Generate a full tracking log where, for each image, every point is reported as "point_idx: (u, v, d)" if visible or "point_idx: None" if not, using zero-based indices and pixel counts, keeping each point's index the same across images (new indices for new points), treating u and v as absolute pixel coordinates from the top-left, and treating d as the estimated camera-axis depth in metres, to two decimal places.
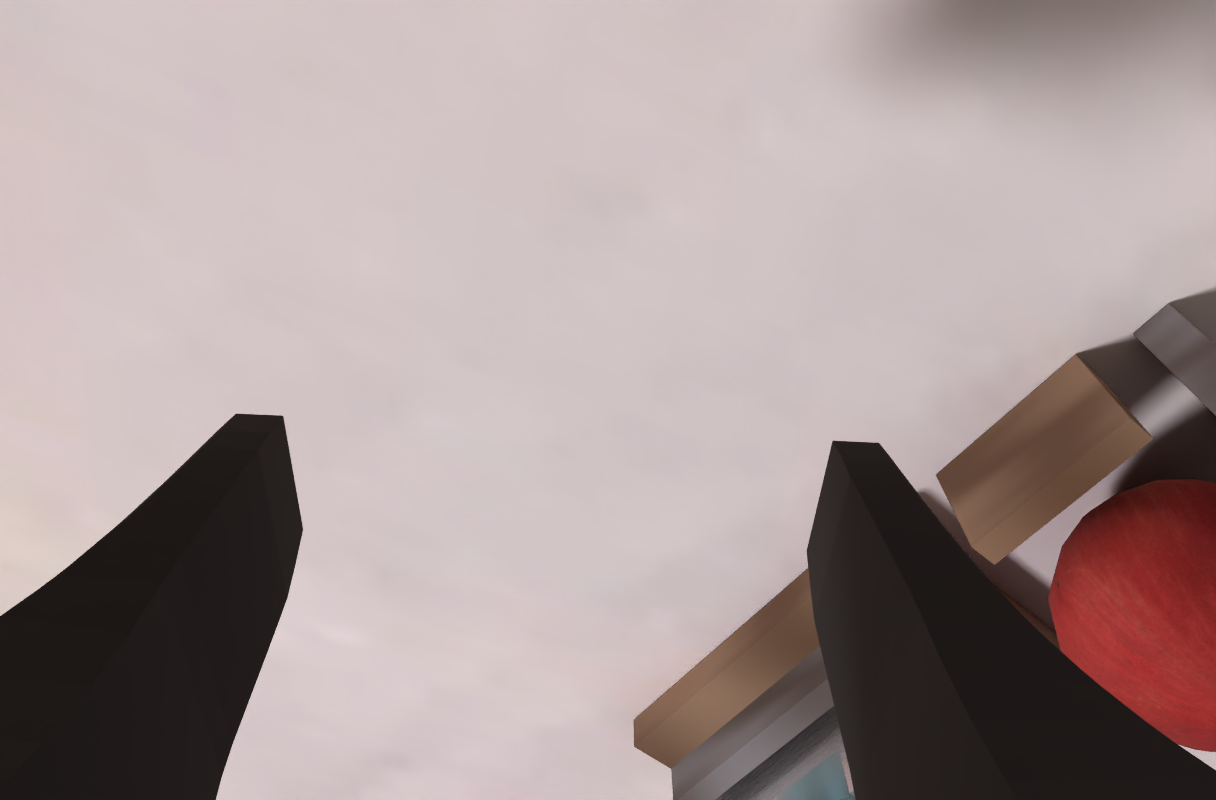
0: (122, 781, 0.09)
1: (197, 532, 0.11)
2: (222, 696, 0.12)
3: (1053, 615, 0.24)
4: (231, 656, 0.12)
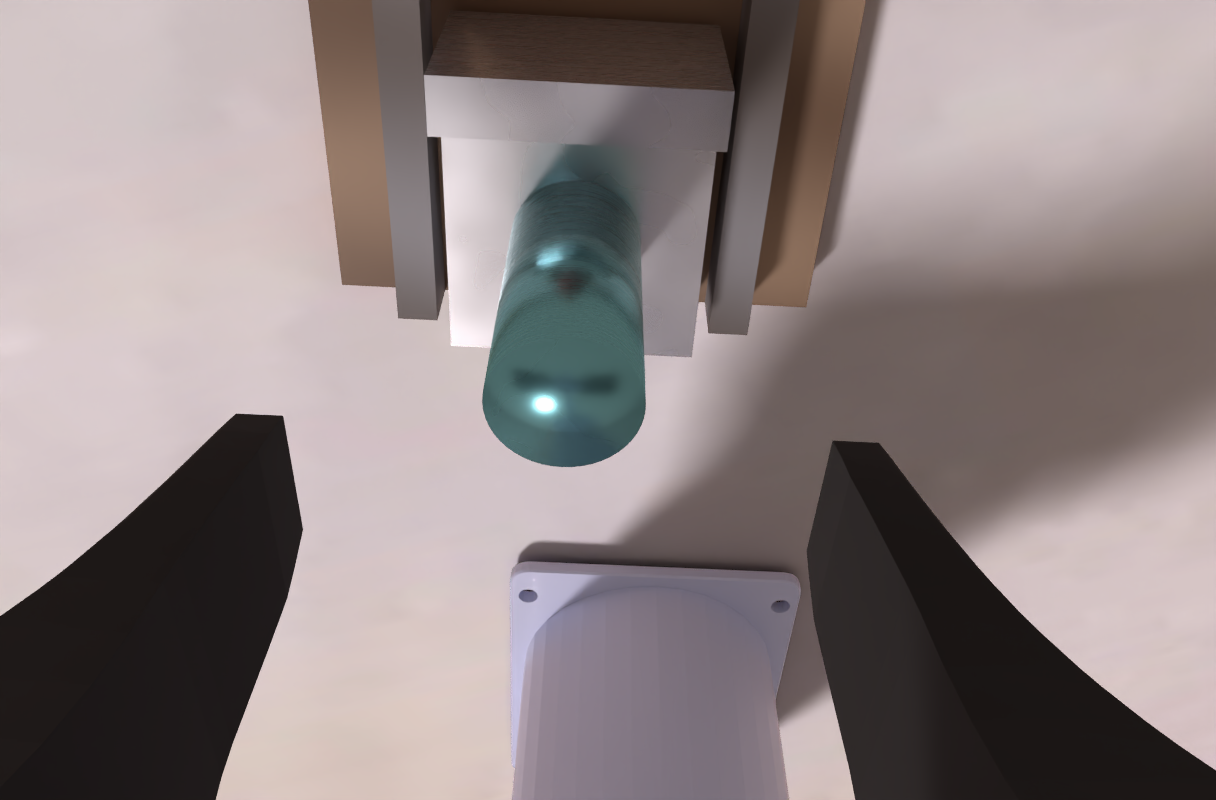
0: (122, 781, 0.09)
1: (197, 532, 0.11)
2: (222, 696, 0.12)
3: None
4: (231, 656, 0.12)
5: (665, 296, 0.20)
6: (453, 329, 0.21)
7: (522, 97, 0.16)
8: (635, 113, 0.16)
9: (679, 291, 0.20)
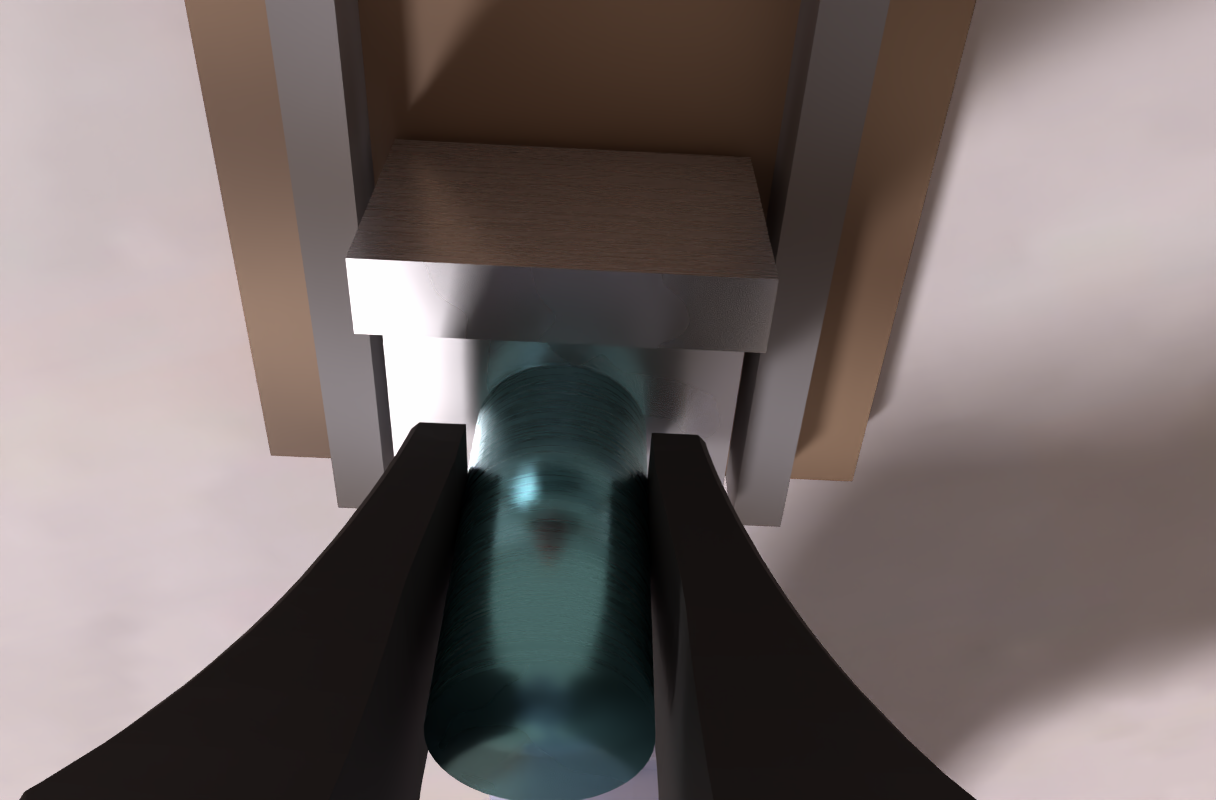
0: (380, 790, 0.09)
1: (420, 541, 0.11)
2: (425, 704, 0.12)
3: None
4: (431, 664, 0.12)
5: None
6: None
7: (483, 286, 0.12)
8: (639, 306, 0.12)
9: None
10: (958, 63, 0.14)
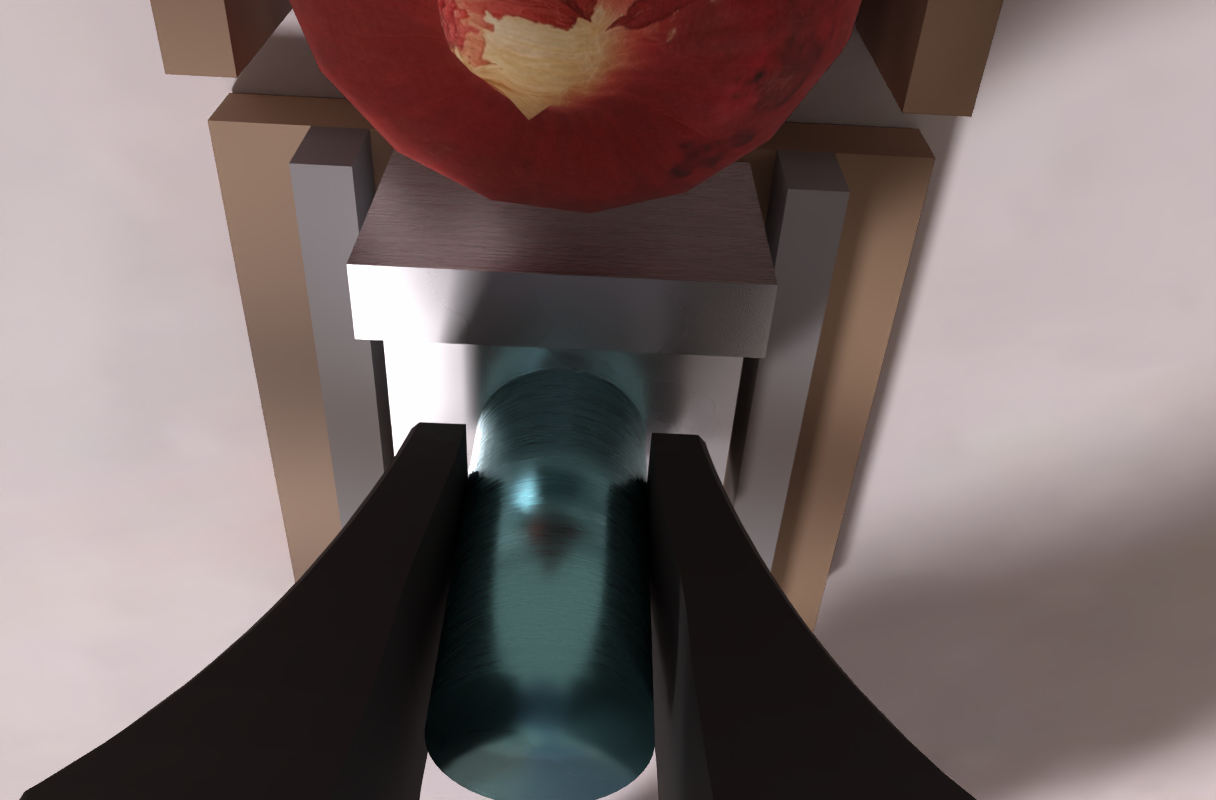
0: (380, 790, 0.09)
1: (420, 541, 0.11)
2: (425, 704, 0.12)
3: None
4: (431, 664, 0.12)
5: None
6: None
7: (483, 292, 0.12)
8: (639, 312, 0.12)
9: None
10: (892, 320, 0.16)
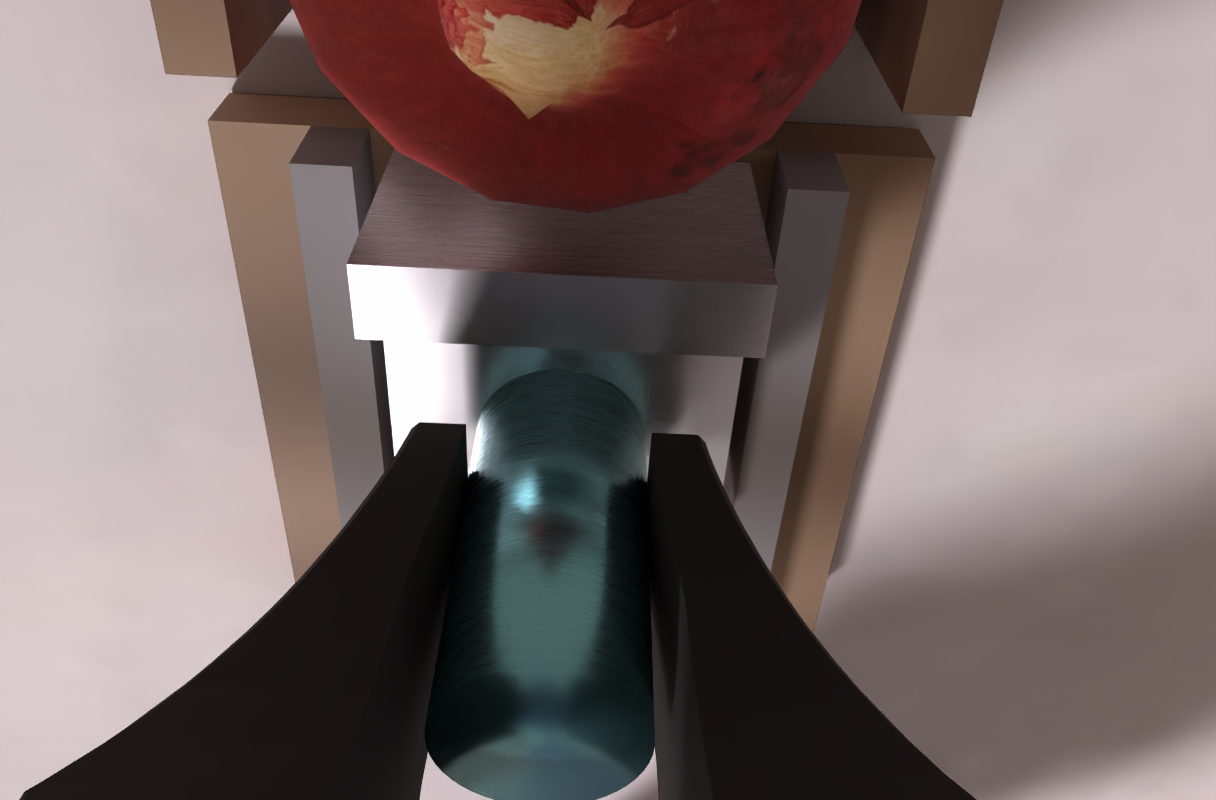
0: (379, 790, 0.09)
1: (420, 541, 0.11)
2: (425, 704, 0.12)
3: None
4: (431, 664, 0.12)
5: None
6: None
7: (483, 292, 0.12)
8: (639, 312, 0.12)
9: None
10: (892, 320, 0.16)
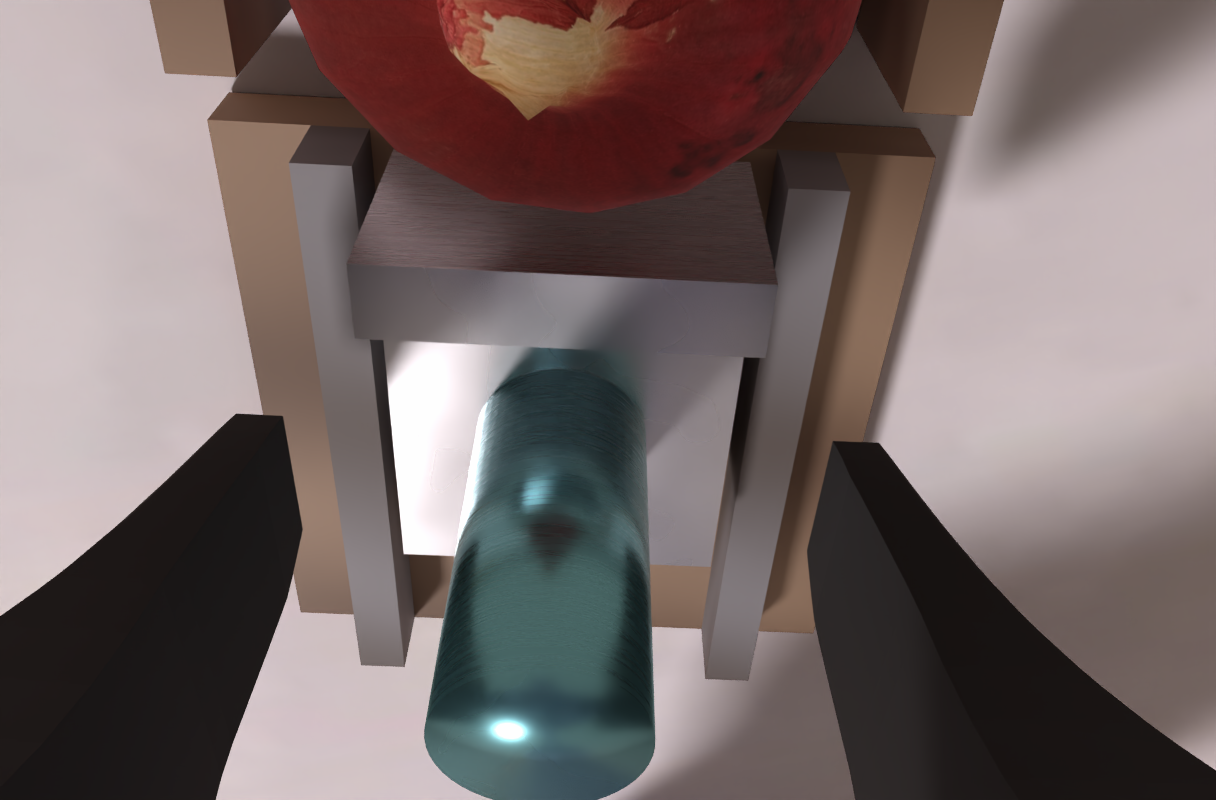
0: (122, 781, 0.09)
1: (197, 532, 0.11)
2: (222, 696, 0.12)
3: None
4: (231, 656, 0.12)
5: (677, 500, 0.16)
6: (405, 535, 0.16)
7: (484, 291, 0.12)
8: (640, 312, 0.12)
9: (695, 495, 0.16)
10: (892, 320, 0.16)
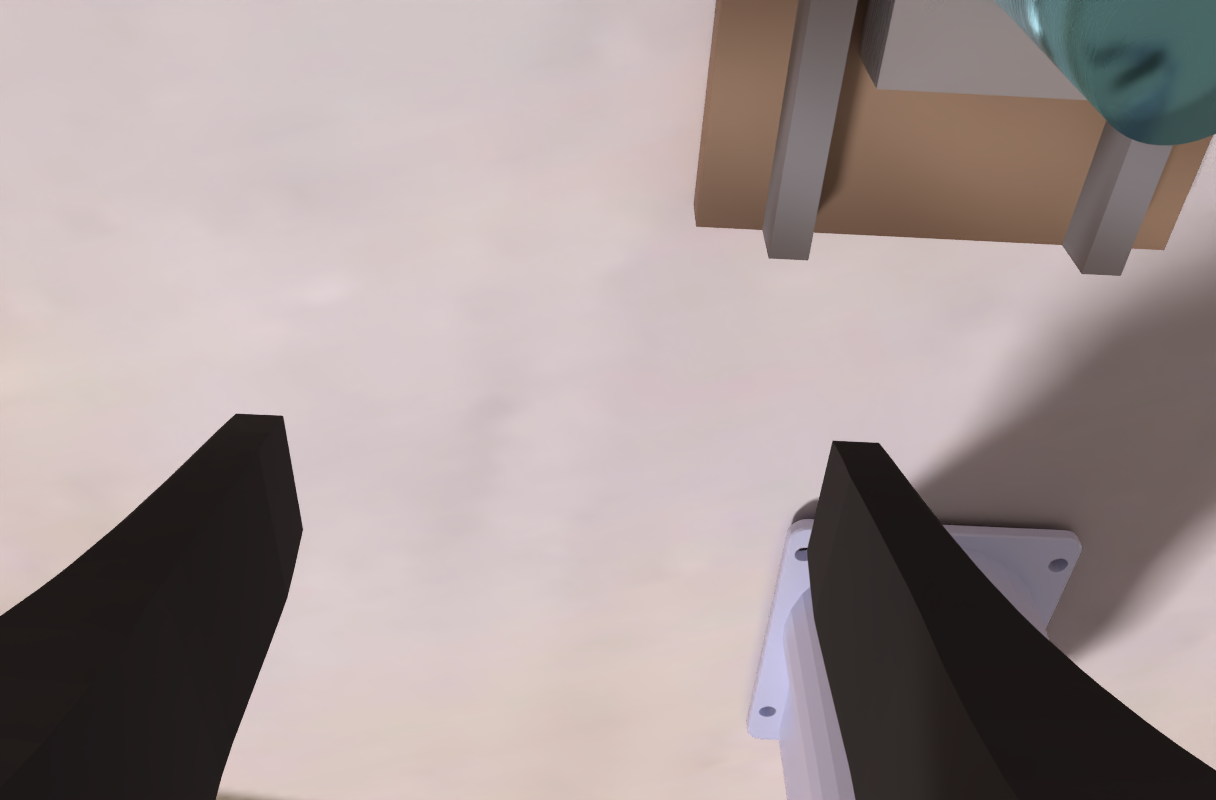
0: (122, 781, 0.09)
1: (197, 532, 0.11)
2: (222, 696, 0.12)
3: None
4: (231, 656, 0.12)
5: None
6: (884, 66, 0.18)
7: None
8: None
9: None
10: None
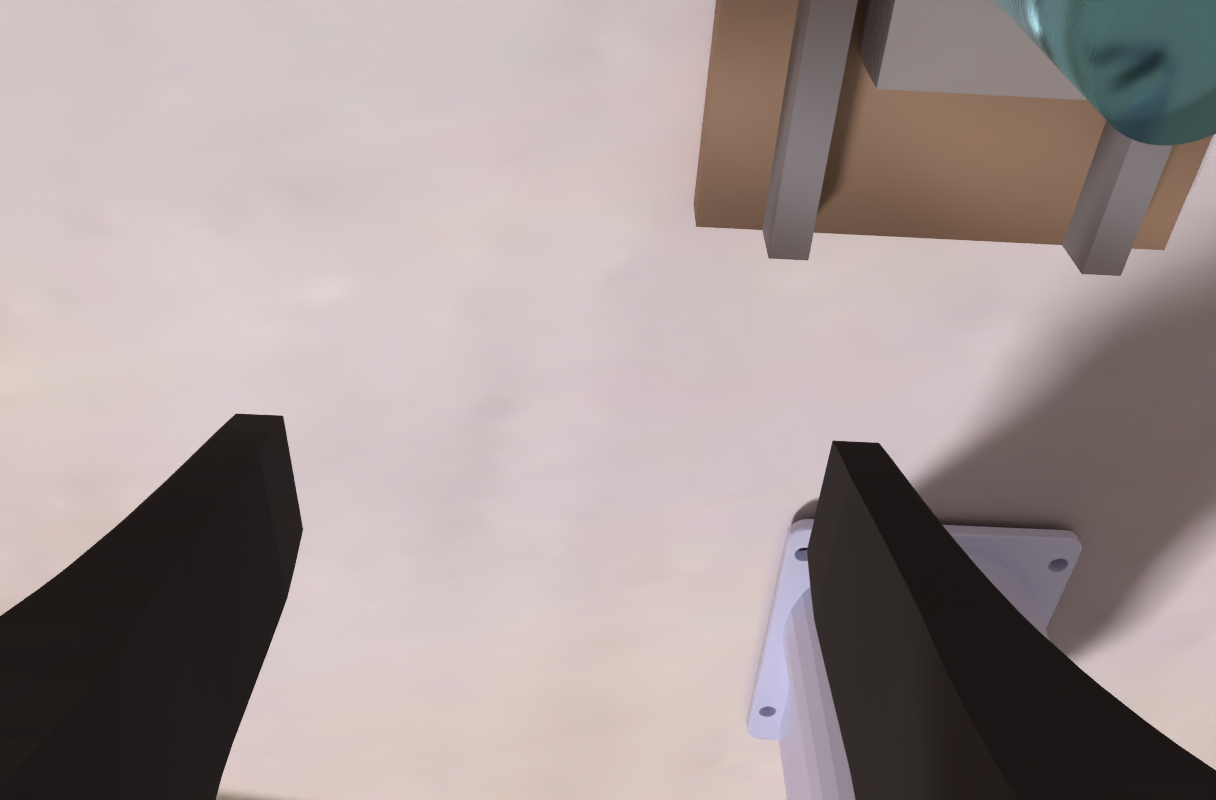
0: (122, 781, 0.09)
1: (197, 532, 0.11)
2: (222, 696, 0.12)
3: None
4: (231, 656, 0.12)
5: None
6: (884, 66, 0.18)
7: None
8: None
9: None
10: None
